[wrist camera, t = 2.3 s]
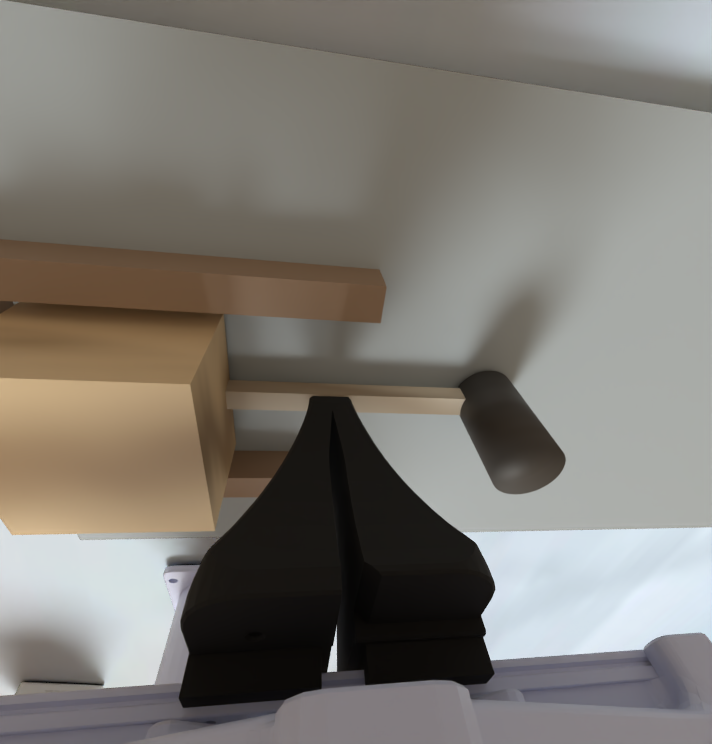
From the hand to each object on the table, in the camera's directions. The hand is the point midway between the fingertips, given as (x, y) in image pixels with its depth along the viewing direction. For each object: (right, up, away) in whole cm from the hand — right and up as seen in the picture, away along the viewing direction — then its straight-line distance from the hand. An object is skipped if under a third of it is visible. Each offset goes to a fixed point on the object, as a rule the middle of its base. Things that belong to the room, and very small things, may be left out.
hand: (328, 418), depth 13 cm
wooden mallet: (-1, +1, +1) cm, 2 cm away
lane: (+7, +1, +3) cm, 7 cm away
